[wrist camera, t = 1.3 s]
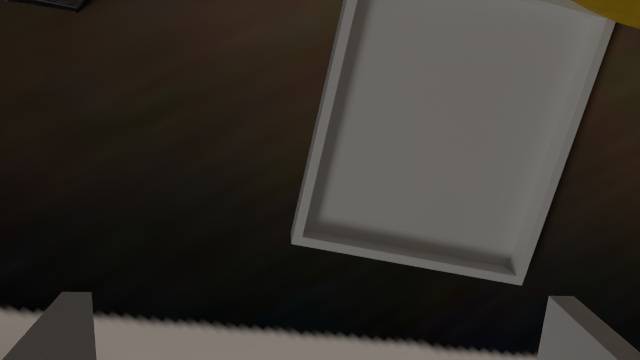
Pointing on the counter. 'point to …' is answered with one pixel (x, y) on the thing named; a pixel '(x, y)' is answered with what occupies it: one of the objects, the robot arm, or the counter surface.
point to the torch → (615, 10)
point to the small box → (55, 4)
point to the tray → (447, 130)
